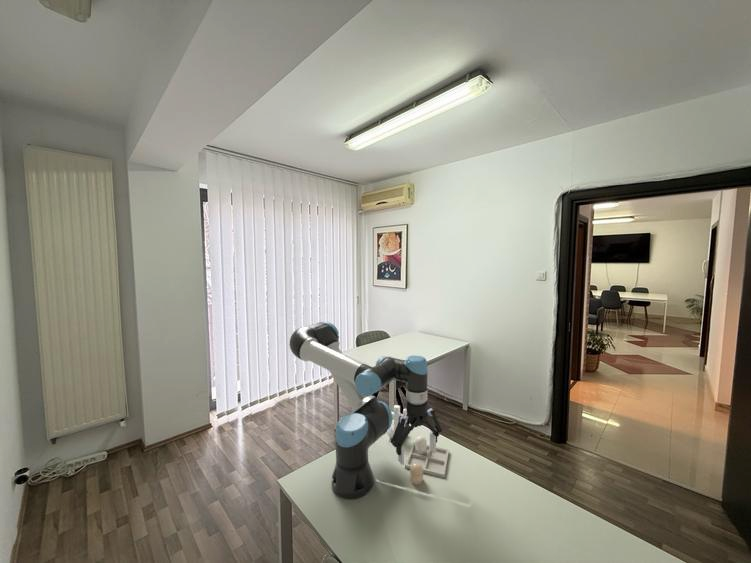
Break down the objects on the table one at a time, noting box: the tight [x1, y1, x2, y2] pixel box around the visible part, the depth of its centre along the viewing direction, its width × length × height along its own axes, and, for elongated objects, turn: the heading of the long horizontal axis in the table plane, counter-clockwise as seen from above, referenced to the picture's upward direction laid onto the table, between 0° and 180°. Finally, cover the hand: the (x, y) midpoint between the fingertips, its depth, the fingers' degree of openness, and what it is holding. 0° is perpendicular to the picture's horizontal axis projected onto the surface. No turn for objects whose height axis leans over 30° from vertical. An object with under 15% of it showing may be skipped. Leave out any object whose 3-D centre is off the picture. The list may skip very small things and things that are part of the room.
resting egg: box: [414, 435, 427, 456], centre depth 122 cm, size 5×5×7 cm
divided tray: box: [404, 441, 450, 478], centre depth 117 cm, size 15×15×2 cm
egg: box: [409, 463, 424, 486], centre depth 107 cm, size 5×5×7 cm
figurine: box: [386, 404, 407, 439], centre depth 133 cm, size 7×9×15 cm
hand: (417, 456), depth 106 cm, fingers open, 13 cm apart
